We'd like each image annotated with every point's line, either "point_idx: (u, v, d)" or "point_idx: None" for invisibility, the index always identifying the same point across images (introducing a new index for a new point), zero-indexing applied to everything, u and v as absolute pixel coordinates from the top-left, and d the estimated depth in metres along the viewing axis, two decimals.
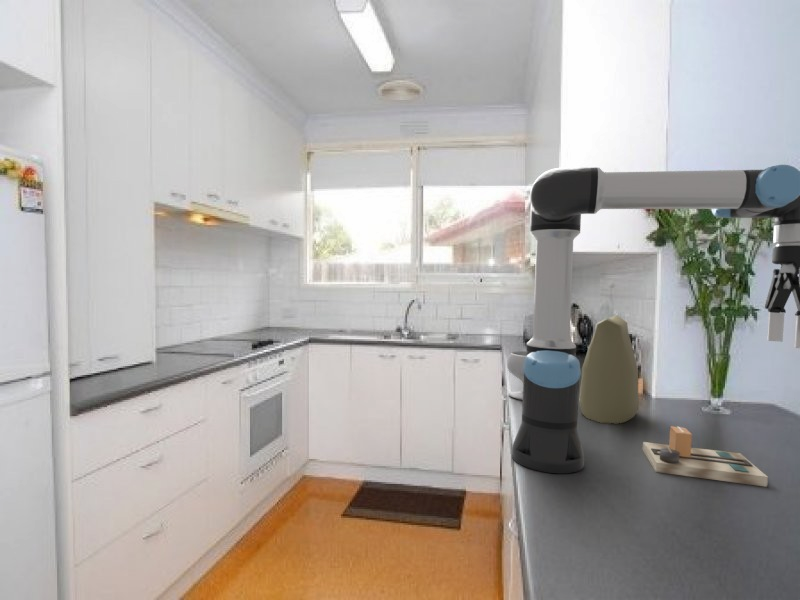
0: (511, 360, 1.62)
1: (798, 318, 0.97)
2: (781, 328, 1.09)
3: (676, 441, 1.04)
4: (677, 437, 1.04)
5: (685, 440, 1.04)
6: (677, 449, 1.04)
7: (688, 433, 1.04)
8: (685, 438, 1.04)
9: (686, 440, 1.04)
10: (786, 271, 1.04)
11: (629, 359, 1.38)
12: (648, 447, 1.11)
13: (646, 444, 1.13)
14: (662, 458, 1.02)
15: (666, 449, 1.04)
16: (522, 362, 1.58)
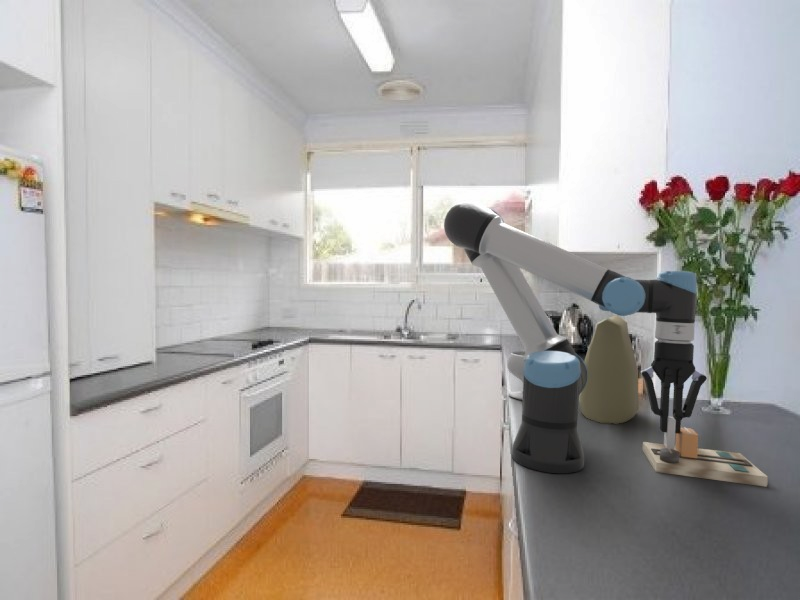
0: (511, 360, 1.62)
1: None
2: (670, 434, 1.06)
3: (683, 442, 1.04)
4: (684, 438, 1.04)
5: (692, 441, 1.03)
6: (684, 450, 1.04)
7: (695, 434, 1.04)
8: (691, 438, 1.03)
9: (692, 441, 1.03)
10: None
11: (629, 359, 1.38)
12: (648, 447, 1.11)
13: (646, 444, 1.13)
14: (662, 458, 1.02)
15: (666, 449, 1.04)
16: (522, 362, 1.58)
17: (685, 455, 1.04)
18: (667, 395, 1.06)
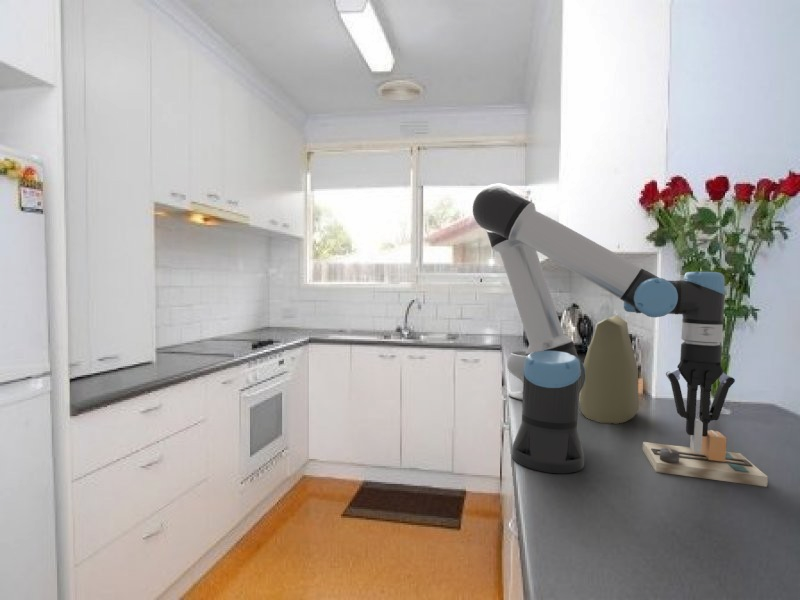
0: (511, 360, 1.62)
1: None
2: (697, 437, 1.04)
3: (710, 445, 1.02)
4: (711, 441, 1.02)
5: (720, 444, 1.02)
6: (711, 453, 1.02)
7: (722, 437, 1.02)
8: (719, 442, 1.02)
9: (720, 444, 1.02)
10: None
11: (629, 359, 1.38)
12: (648, 447, 1.11)
13: (646, 444, 1.13)
14: (662, 458, 1.02)
15: (666, 449, 1.04)
16: (522, 362, 1.58)
17: (713, 458, 1.02)
18: (694, 397, 1.04)
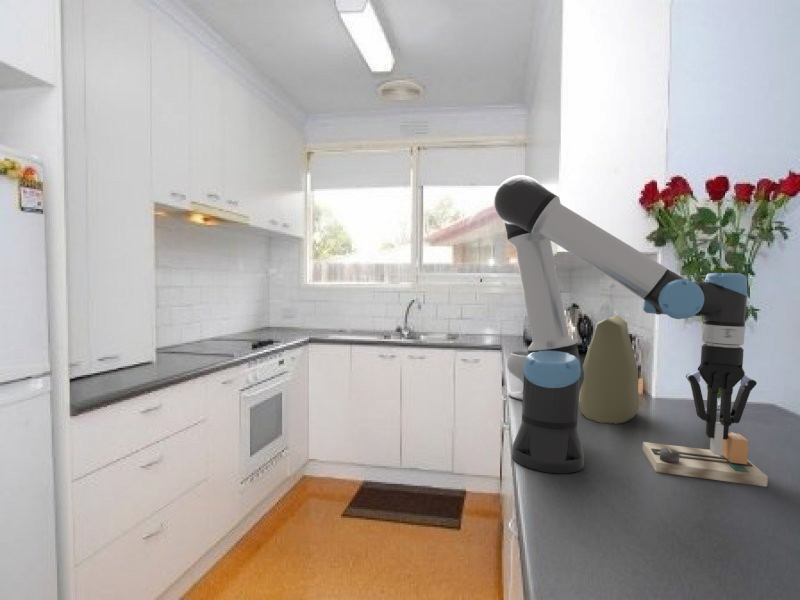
0: (511, 360, 1.62)
1: None
2: (718, 440, 1.03)
3: (732, 447, 1.01)
4: (733, 443, 1.01)
5: (742, 447, 1.01)
6: (733, 456, 1.01)
7: (744, 439, 1.01)
8: (741, 444, 1.01)
9: (742, 447, 1.01)
10: None
11: (629, 359, 1.38)
12: (648, 447, 1.11)
13: (646, 444, 1.13)
14: (662, 458, 1.02)
15: (666, 449, 1.04)
16: (522, 362, 1.58)
17: (734, 461, 1.01)
18: (715, 400, 1.03)
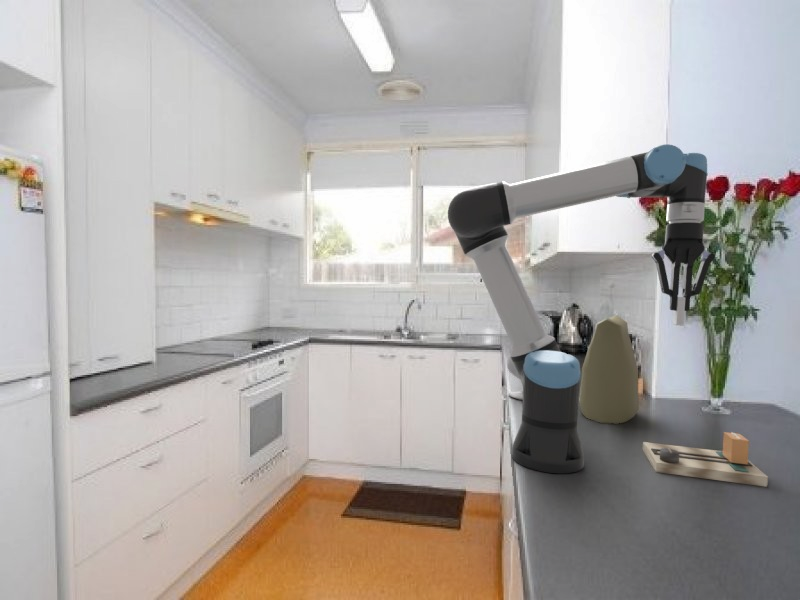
0: (511, 360, 1.62)
1: None
2: (680, 312, 1.11)
3: (732, 448, 1.01)
4: (733, 443, 1.01)
5: (742, 447, 1.01)
6: (733, 456, 1.01)
7: (745, 439, 1.01)
8: (741, 444, 1.01)
9: (742, 447, 1.01)
10: None
11: (629, 359, 1.38)
12: (648, 447, 1.11)
13: (646, 444, 1.13)
14: (662, 458, 1.02)
15: (666, 449, 1.04)
16: None
17: (735, 461, 1.01)
18: (677, 274, 1.11)
